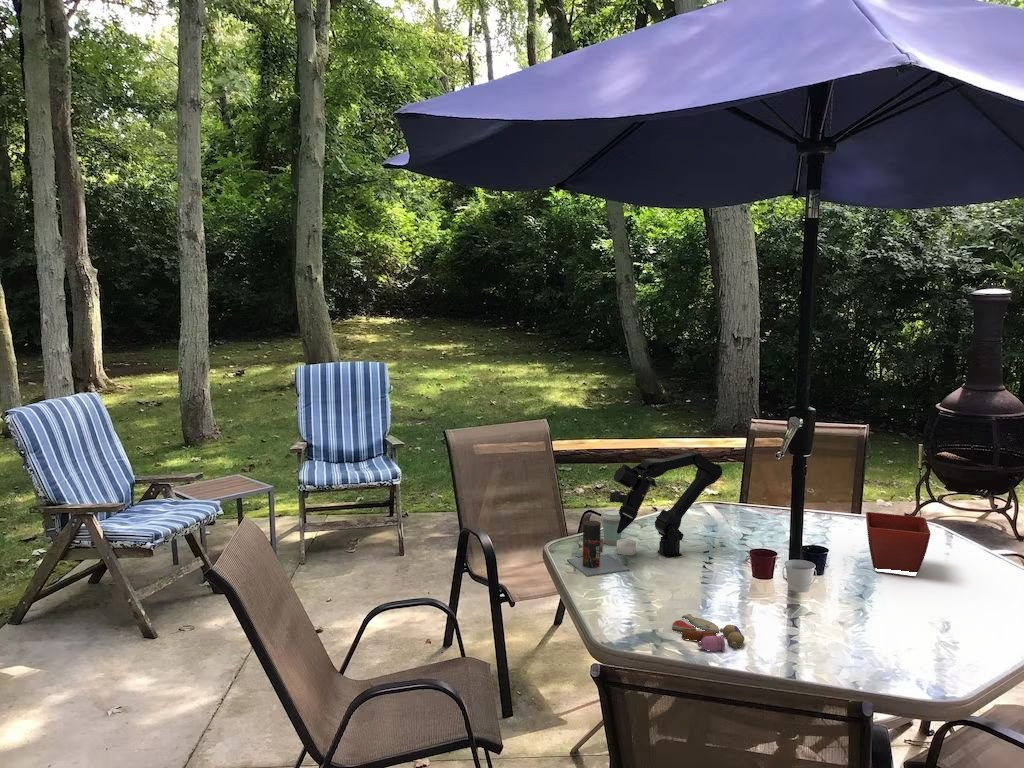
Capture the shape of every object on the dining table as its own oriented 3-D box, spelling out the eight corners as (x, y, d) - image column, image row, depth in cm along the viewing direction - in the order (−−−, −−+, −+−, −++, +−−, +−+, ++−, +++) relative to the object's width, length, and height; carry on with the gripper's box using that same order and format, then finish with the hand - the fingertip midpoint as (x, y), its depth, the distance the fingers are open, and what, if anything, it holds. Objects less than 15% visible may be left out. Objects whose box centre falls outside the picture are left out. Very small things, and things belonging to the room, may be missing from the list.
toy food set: (766, 647, 221) (766, 633, 220) (731, 666, 210) (731, 651, 210) (689, 617, 240) (689, 604, 239) (653, 632, 229) (654, 619, 229)
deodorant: (586, 560, 283) (587, 519, 281) (602, 563, 280) (603, 522, 278) (579, 566, 278) (580, 524, 276) (595, 569, 275) (596, 526, 273)
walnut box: (593, 548, 298) (593, 535, 298) (602, 552, 294) (602, 538, 294) (583, 550, 295) (583, 537, 295) (592, 554, 291) (592, 541, 291)
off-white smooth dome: (630, 548, 299) (630, 537, 298) (639, 554, 292) (639, 543, 292) (613, 550, 296) (613, 540, 296) (622, 556, 290) (622, 546, 289)
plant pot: (864, 574, 274) (867, 526, 271) (862, 556, 291) (865, 511, 289) (927, 582, 267) (931, 533, 264) (921, 563, 284) (925, 517, 282)
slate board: (607, 555, 290) (607, 553, 290) (629, 570, 276) (629, 569, 275) (567, 560, 285) (567, 559, 285) (587, 576, 270) (587, 575, 270)
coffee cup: (623, 539, 308) (623, 509, 306) (623, 547, 300) (624, 515, 298) (600, 538, 309) (601, 508, 307) (600, 546, 300) (601, 514, 299)
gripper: (617, 482, 295) (598, 521, 294) (616, 482, 277) (596, 522, 276) (645, 496, 293) (626, 535, 292) (646, 497, 275) (625, 538, 274)
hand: (618, 532), depth 284 cm, fingers open, 9 cm apart
